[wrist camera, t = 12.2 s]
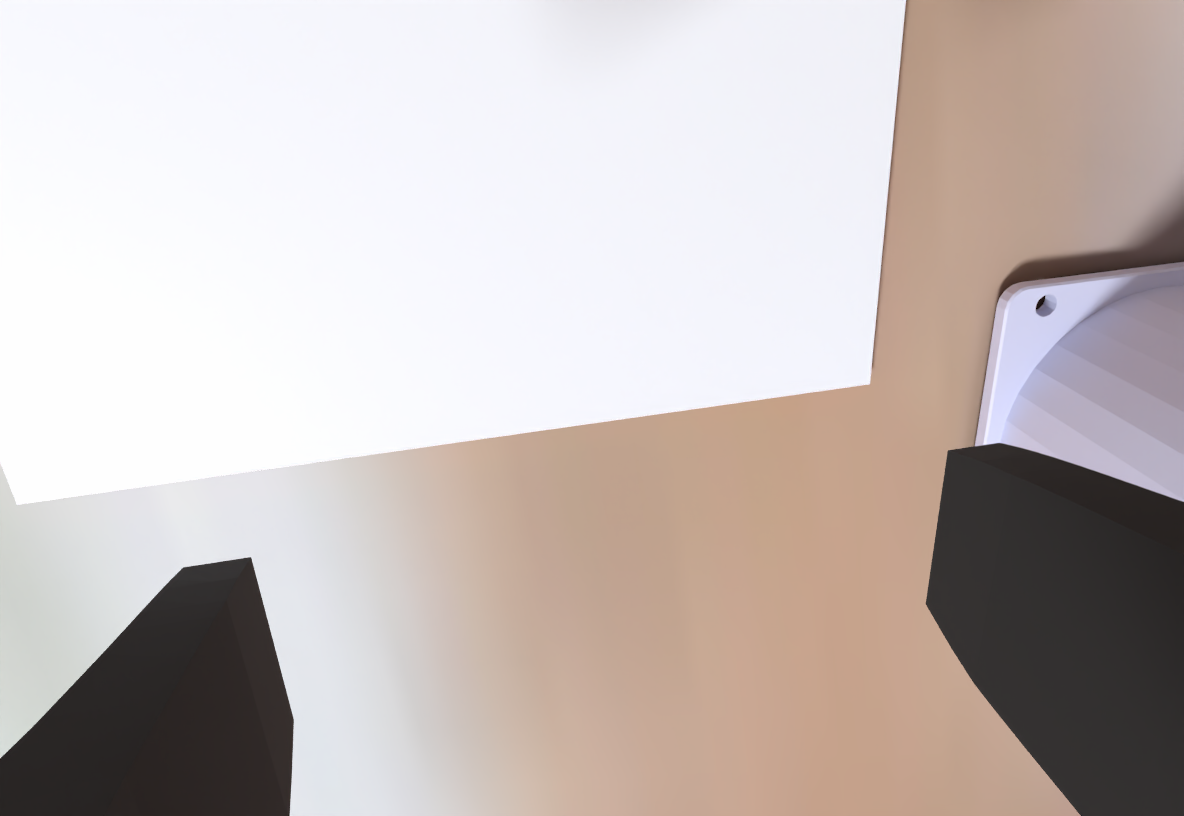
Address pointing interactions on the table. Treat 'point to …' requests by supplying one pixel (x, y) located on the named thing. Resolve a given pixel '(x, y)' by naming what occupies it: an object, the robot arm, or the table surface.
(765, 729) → the table surface
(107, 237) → the notepad
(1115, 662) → the robot arm
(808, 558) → the table surface
